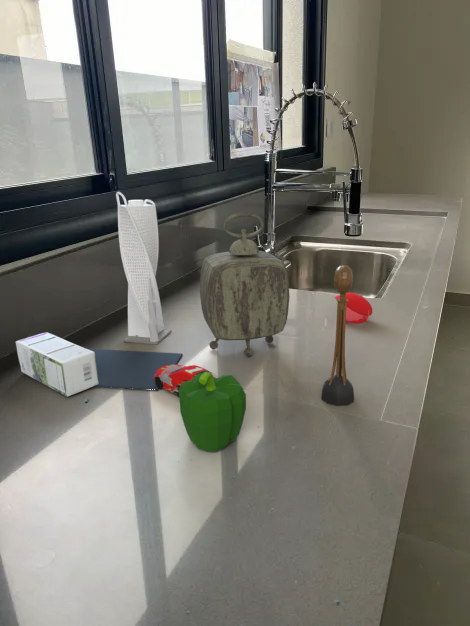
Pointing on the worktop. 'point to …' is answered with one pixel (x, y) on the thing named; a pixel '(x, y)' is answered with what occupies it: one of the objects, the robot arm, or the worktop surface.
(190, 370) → the race car
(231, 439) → the bell pepper
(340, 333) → the wooden tabletop sculpture
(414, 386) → the worktop surface
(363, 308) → the cap
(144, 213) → the skyscraper
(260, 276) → the tabletop clock
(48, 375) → the syrup box
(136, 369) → the mat
